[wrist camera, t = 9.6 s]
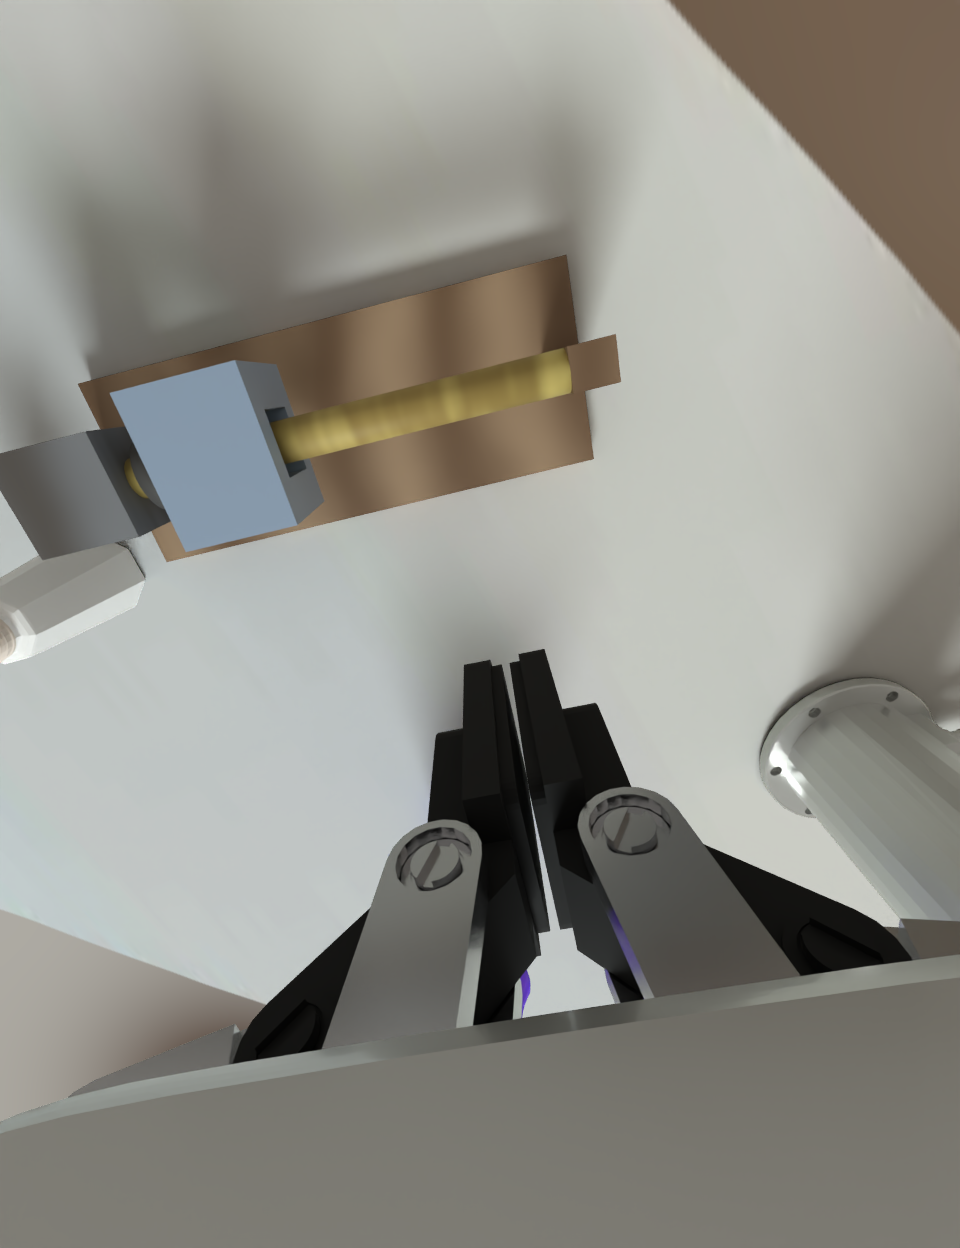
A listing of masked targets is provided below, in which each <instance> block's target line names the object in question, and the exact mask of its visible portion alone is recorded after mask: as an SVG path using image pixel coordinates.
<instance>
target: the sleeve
mask: <svg viewBox="0 0 960 1248" xmlns="http://www.w3.org/2000/svg"><path fill="white" fill-rule="evenodd" d="M110 395H111V397H112V399H113V402H114V404H115V406H116V408H117V410H118V412H119V414H120V416H121V418H122V420H123V422H124V424H125V427H126V429H127V431H128V433H129V435H130V437H131V439H132V441H133V443H134V445H135V447H136V449H137V452H138V454H139V456H140V458H141V460H142V462H143V464H144V466H145V468H146V470H147V472H148V474H149V477H150V479H151V481H152V483H153V485H154V487H155V489H156V491H157V493H158V495H159V497H160V499H161V502H162V504H163V506H164V508H165V510H166V512H167V514H168V516H169V518H170V520H171V522H172V524H173V526H174V529H175V531H176V533H177V535H178V537H179V539H180V541H181V543H182V545H183V547H184V549H185V551H186V552H189V551H193V550H197V549H201V548H205V547H210V546H214V545H218V544H222V543H226V542H230V541H234V540H239V539H243V538H247V537H251V536H255V535H259V534H263V533H267V532H272V531H276V530H280V529H284V528H288V527H292V526H296V525H298V524H299V523H301V522H302V521H303V520H304V519H305V518H306V517H307V516H308V515H310V514H311V513H312V512H313V511H314V510H315V509H316V508H317V507H319V506H320V505H321V504H322V503H323V502H324V499H323V496H322V493H321V490H320V487H319V484H318V481H317V479H316V476H315V473H314V470H313V467H312V464H311V462H310V459H309V458H308V459H304V460H300V461H296V462H292V463H288V464H284V461H283V458H282V456H281V453H280V450H279V447H278V445H277V442H276V439H275V437H274V434H273V431H272V429H271V426H270V422H274V421H278V420H282V419H286V418H290V417H293V416H294V413H293V410H292V408H291V405H290V402H289V399H288V396H287V393H286V390H285V388H284V385H283V382H282V379H281V376H280V373H279V371H278V368H277V365H276V364H267V363H258V362H248V361H238V360H233V361H230V362H226V363H222V364H218V365H214V366H211V367H207V368H203V369H199V370H195V371H191V372H188V373H184V374H180V375H176V376H172V377H169V378H165V379H161V380H157V381H153V382H150V383H146V384H142V385H138V386H134V387H131V388H127V389H123V390H119V391H115V392H111V393H110Z"/></svg>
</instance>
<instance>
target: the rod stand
mask: <svg viewBox="0 0 960 1248" xmlns="http://www.w3.org/2000/svg"><path fill="white" fill-rule="evenodd" d="M233 360H238V361H248V362H258V363H267V364H276V365H277V368H278V371H279V373H280V376H281V379H282V382H283V385H284V388H285V390H286V393H287V396H288V399H289V402H290V405H291V408H292V410H293V413H294V416H293V417H290V418H286V419H282V420H278V421H274V422H270V426H271V429H272V431H273V434H274V437H275V439H276V442H277V445H278V447H279V450H280V453H281V456H282V458H283V461H284V464H288V463H292V462H296V461H300V460H304V459H308V458H309V459H310V462H311V464H312V467H313V470H314V473H315V476H316V479H317V481H318V484H319V487H320V490H321V493H322V496H323V499H324V502H323V503H322V504H321V505H320V506H319V507H317V508H316V509H315V510H314V511H313V512H312V513H311V514H310V515H308V516H307V517H306V518H305V519H304V520H303V521H302V522H301V523H299V524H298V525H296V526H292V527H288V528H284V529H280V530H276V531H272V532H267V533H263V534H259V535H255V536H251V537H247V538H243V539H239V540H234V541H230V542H226V543H222V544H218V545H214V546H210V547H205V548H201V549H197V550H193V551H189V552H186V551H185V549H184V547H183V545H182V543H181V541H180V539H179V537H178V535H177V533H176V531H175V529H174V526H173V524H172V522H171V520H170V518H169V516H168V514H167V512H166V510H165V508H164V506H163V504H162V502H161V499H160V497H159V495H158V493H157V491H156V489H155V487H154V485H153V483H152V481H151V479H150V477H149V474H148V472H147V470H146V468H145V466H144V464H143V462H142V460H141V458H140V456H139V454H138V452H137V449H136V447H135V445H134V443H133V441H132V439H131V437H130V435H129V433H128V431H127V429H126V427H125V424H124V422H123V420H122V418H121V416H120V414H119V412H118V410H117V408H116V406H115V404H114V402H113V399H112V397H111V395H110V393H111V392H115V391H119V390H123V389H127V388H131V387H134V386H138V385H142V384H146V383H150V382H153V381H157V380H161V379H165V378H169V377H172V376H176V375H180V374H184V373H188V372H191V371H195V370H199V369H203V368H207V367H211V366H214V365H218V364H222V363H226V362H230V361H233ZM619 382H621V378H620V369H619V360H618V350H617V341H616V334H615V335H611V336H607V337H603V338H599V339H595V340H591V341H587V342H583V343H579V344H578V338H577V331H576V323H575V316H574V308H573V301H572V293H571V286H570V278H569V271H568V264H567V256H566V255H563V256H559V257H556V258H552V259H548V260H544V261H541V262H537V263H533V264H529V265H525V266H522V267H518V268H514V269H510V270H507V271H503V272H499V273H495V274H491V275H488V276H484V277H480V278H476V279H473V280H469V281H465V282H461V283H457V284H454V285H450V286H446V287H442V288H438V289H435V290H431V291H427V292H423V293H420V294H416V295H412V296H408V297H404V298H401V299H397V300H393V301H389V302H386V303H382V304H378V305H374V306H370V307H367V308H363V309H359V310H355V311H352V312H348V313H344V314H340V315H336V316H333V317H329V318H325V319H321V320H317V321H314V322H310V323H306V324H302V325H299V326H295V327H291V328H287V329H283V330H280V331H276V332H272V333H268V334H265V335H261V336H257V337H253V338H249V339H246V340H242V341H238V342H234V343H231V344H227V345H223V346H219V347H215V348H212V349H208V350H204V351H200V352H196V353H193V354H189V355H185V356H181V357H178V358H174V359H170V360H166V361H162V362H159V363H155V364H151V365H147V366H144V367H140V368H136V369H132V370H128V371H125V372H121V373H117V374H113V375H110V376H106V377H102V378H98V379H94V380H91V381H87V382H83V383H79V384H78V385H79V387H80V389H81V391H82V393H83V395H84V397H85V399H86V401H87V403H88V405H89V407H90V409H91V411H92V413H93V415H94V417H95V419H96V421H97V423H98V425H99V427H100V429H101V430H93V431H86V432H82V433H78V434H74V435H70V436H66V437H62V438H58V439H55V440H51V441H47V442H43V443H39V444H35V445H31V446H28V447H24V448H20V449H16V450H12V451H8V452H4V453H0V491H1V492H2V494H3V496H4V497H5V499H6V501H7V502H8V504H9V506H10V507H11V509H12V511H13V512H14V514H15V516H16V517H17V519H18V521H19V522H20V524H21V526H22V527H23V529H24V531H25V532H26V534H27V536H28V537H29V539H30V541H31V542H32V544H33V546H34V547H35V549H36V551H37V552H38V554H39V556H40V557H41V559H42V560H47V559H51V558H55V557H59V556H63V555H67V554H71V553H75V552H79V551H83V550H87V549H91V548H95V547H100V546H104V545H108V544H112V543H116V542H120V541H124V540H128V539H132V538H136V537H140V536H142V535H144V534H146V533H148V532H150V531H152V533H153V535H154V537H155V539H156V541H157V543H158V545H159V547H160V549H161V551H162V553H163V555H164V557H165V559H166V561H167V562H169V561H173V560H177V559H181V558H186V557H190V556H194V555H198V554H202V553H206V552H210V551H215V550H219V549H223V548H227V547H231V546H235V545H239V544H244V543H248V542H252V541H256V540H260V539H264V538H268V537H273V536H277V535H281V534H285V533H289V532H293V531H297V530H302V529H306V528H310V527H314V526H318V525H322V524H326V523H331V522H335V521H339V520H343V519H347V518H351V517H355V516H360V515H364V514H368V513H372V512H376V511H380V510H384V509H389V508H393V507H397V506H401V505H405V504H409V503H413V502H418V501H422V500H426V499H430V498H434V497H438V496H442V495H447V494H451V493H455V492H459V491H463V490H467V489H471V488H476V487H480V486H484V485H488V484H492V483H496V482H500V481H505V480H509V479H513V478H517V477H521V476H525V475H529V474H534V473H538V472H542V471H546V470H550V469H554V468H558V467H563V466H567V465H571V464H575V463H579V462H583V461H587V460H592V459H594V457H593V449H592V442H591V435H590V427H589V420H588V412H587V405H586V397H585V391H587V390H591V389H595V388H599V387H603V386H607V385H611V384H615V383H619Z"/></svg>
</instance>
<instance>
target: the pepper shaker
mask: <svg viewBox="0 0 960 1248" xmlns="http://www.w3.org/2000/svg"><path fill="white" fill-rule="evenodd" d="M144 582H145V578H144V576H143V574H142V573H141V571H140V569H139V567H138V565H137V564H136V562H135V560H134V558H133V557H132V555H131V553H130V551H129V550H128V549H127V548H125V547H123V546H120V545H118V544H116V543H112V544H108V545H104V546H100V547H95V548H91V549H87V550H83V551H79V552H75V553H71V554H67V555H63V556H59V557H55V558H51V559H47V560H42V559H41V557H40V556H39V555H38V556H37V557H35V558H33V559H32V560H30V561H28V562H27V563H25V564H23V565H21V566H20V567H18V568H16V569H15V570H13V571H11V572H10V573H8V574H6V575H5V576H3V577H1V578H0V663H3V664H7V663H11V662H15V661H18V660H22V659H26V658H29V657H32V656H34V655H37V654H39V653H41V652H44V651H46V650H48V649H50V648H52V647H54V646H56V645H58V644H60V643H62V642H64V641H66V640H68V639H70V638H72V637H75V636H77V635H79V634H81V633H83V632H85V631H87V630H89V629H91V628H93V627H95V626H97V625H99V624H101V623H103V622H105V621H107V620H109V619H112V618H114V617H116V616H118V615H120V614H122V613H124V612H126V611H128V610H130V609H132V608H134V607H136V606H137V603H138V600H139V597H140V594H141V591H142V588H143V585H144Z"/></svg>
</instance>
